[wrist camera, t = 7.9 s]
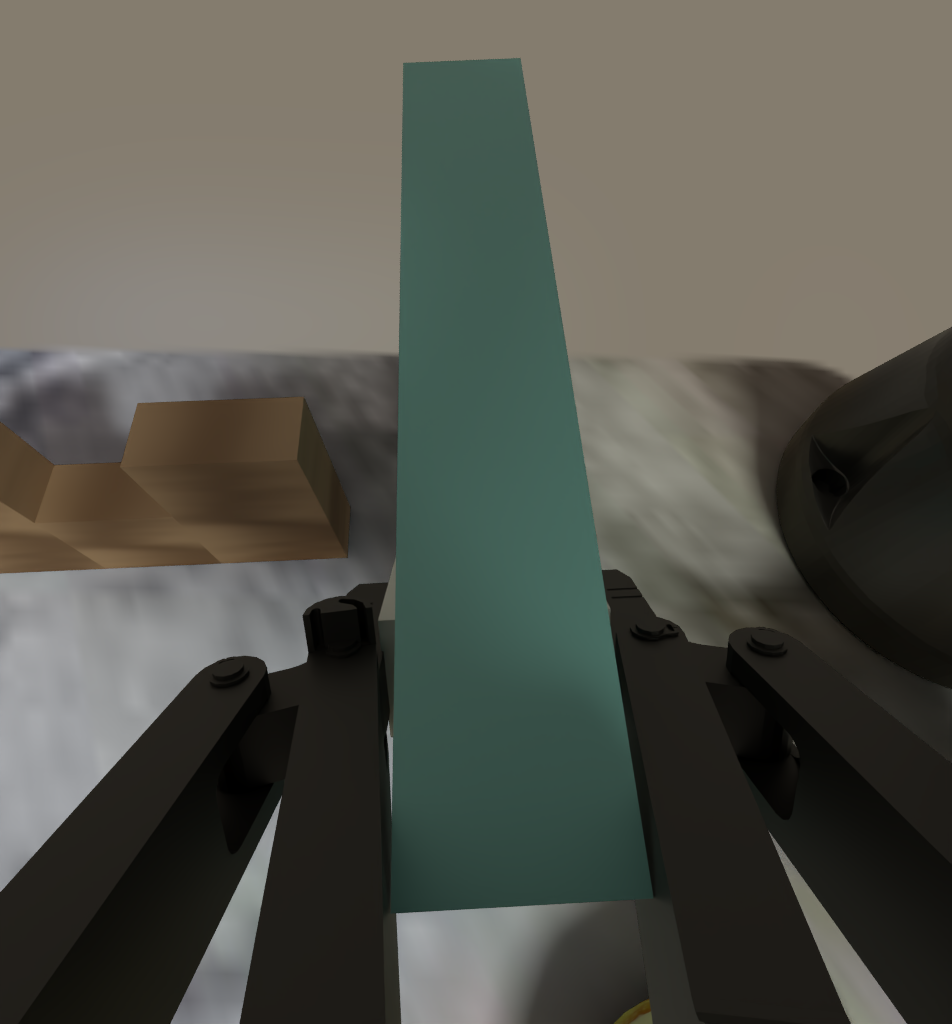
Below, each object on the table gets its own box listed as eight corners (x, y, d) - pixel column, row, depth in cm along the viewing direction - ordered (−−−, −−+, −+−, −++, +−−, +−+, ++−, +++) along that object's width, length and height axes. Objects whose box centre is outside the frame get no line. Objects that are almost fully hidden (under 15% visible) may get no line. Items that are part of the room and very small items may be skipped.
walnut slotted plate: (350, 507, 26) (303, 396, 19) (347, 557, 25) (296, 459, 18) (-4, 522, 26) (-186, 415, 19) (-23, 574, 25) (-226, 481, 18)
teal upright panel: (547, 835, 17) (653, 898, 6) (448, 841, 17) (390, 913, 6) (505, 371, 25) (520, 57, 15) (437, 374, 25) (403, 62, 15)
